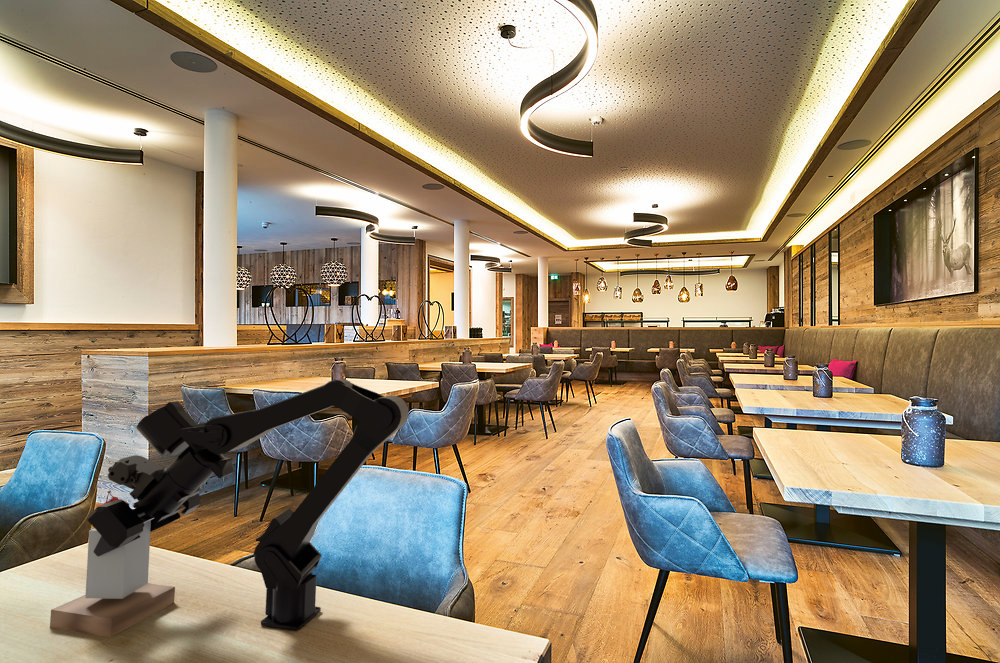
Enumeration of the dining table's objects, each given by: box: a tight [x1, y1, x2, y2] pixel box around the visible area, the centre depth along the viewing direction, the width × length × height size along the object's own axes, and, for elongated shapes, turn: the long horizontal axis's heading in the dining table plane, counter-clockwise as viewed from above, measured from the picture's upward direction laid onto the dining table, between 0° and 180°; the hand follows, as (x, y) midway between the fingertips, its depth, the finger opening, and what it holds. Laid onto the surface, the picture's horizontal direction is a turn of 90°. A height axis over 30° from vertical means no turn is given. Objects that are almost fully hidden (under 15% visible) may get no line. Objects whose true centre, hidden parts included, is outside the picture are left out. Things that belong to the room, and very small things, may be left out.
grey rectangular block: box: [85, 520, 151, 599], centre depth 81 cm, size 6×6×11 cm
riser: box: [49, 582, 176, 638], centre depth 81 cm, size 11×11×3 cm
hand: (111, 546), depth 81 cm, fingers closed on grey rectangular block, 6 cm apart
